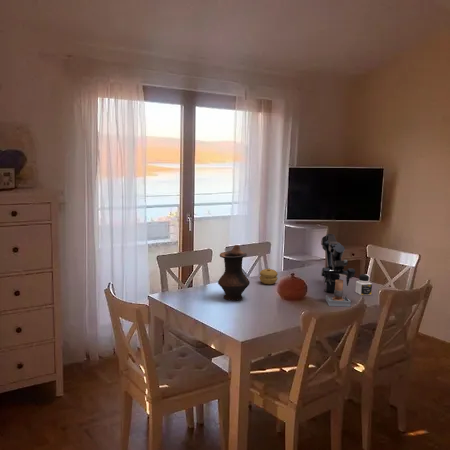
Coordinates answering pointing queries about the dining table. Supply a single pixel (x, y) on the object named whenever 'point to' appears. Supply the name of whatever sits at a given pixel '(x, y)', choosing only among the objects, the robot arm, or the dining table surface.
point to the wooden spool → (338, 290)
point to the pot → (268, 276)
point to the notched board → (338, 302)
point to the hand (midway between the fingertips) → (339, 285)
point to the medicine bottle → (363, 285)
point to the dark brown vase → (233, 274)
